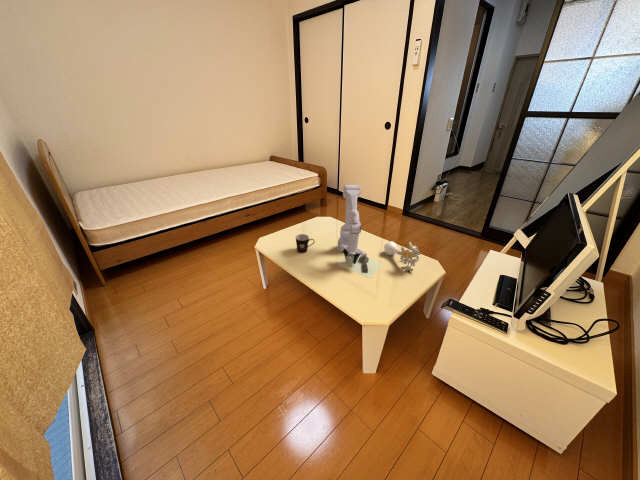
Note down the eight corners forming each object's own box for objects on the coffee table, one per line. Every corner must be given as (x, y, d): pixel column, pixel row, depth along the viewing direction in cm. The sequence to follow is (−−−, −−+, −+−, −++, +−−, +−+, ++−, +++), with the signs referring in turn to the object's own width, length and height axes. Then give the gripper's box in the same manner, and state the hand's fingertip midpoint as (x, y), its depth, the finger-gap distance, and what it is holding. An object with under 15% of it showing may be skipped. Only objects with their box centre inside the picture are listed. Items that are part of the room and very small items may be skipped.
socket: (345, 263, 150) (345, 255, 147) (348, 260, 154) (349, 252, 151) (352, 266, 148) (353, 258, 145) (356, 263, 152) (357, 254, 149)
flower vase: (382, 263, 165) (407, 276, 143) (378, 238, 160) (403, 248, 137) (398, 256, 169) (425, 268, 146) (394, 231, 163) (422, 240, 140)
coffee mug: (293, 252, 161) (293, 238, 156) (299, 246, 168) (299, 233, 163) (309, 256, 158) (309, 242, 153) (314, 249, 165) (315, 236, 160)
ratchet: (370, 272, 143) (371, 266, 141) (360, 272, 144) (361, 265, 141) (368, 258, 157) (368, 252, 155) (358, 257, 157) (359, 251, 155)
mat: (337, 265, 150) (337, 264, 149) (351, 252, 163) (351, 252, 163) (370, 278, 139) (370, 278, 139) (382, 264, 152) (382, 263, 152)
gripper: (338, 241, 144) (337, 260, 151) (361, 249, 137) (358, 268, 144) (344, 236, 149) (342, 255, 156) (366, 244, 142) (363, 263, 149)
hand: (350, 261), depth 150 cm, fingers closed on socket, 5 cm apart
